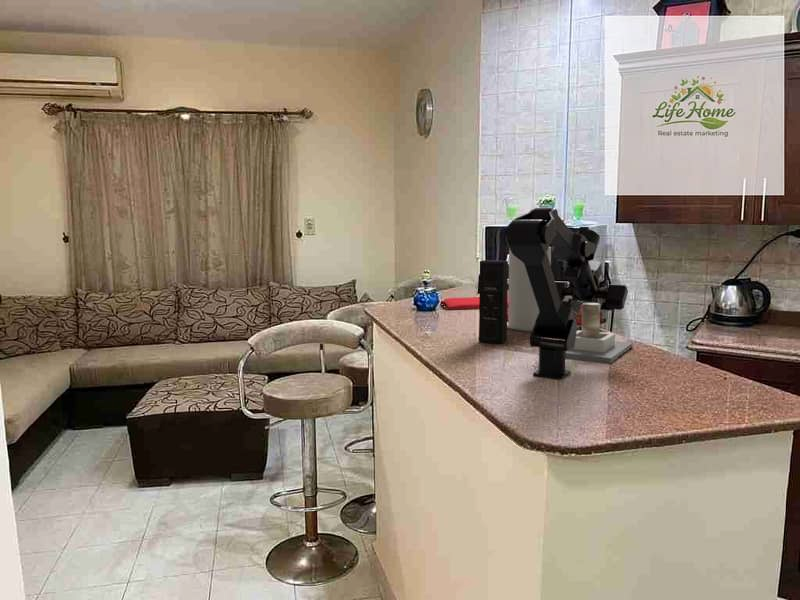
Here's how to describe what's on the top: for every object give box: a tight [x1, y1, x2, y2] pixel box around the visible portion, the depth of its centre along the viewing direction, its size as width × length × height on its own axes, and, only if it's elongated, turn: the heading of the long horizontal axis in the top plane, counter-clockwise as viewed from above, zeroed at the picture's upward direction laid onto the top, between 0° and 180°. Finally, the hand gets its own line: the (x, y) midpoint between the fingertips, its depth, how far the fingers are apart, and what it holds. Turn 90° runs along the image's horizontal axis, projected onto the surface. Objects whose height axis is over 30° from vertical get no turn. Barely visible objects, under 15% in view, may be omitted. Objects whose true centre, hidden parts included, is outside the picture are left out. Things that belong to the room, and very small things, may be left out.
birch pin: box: [581, 302, 601, 339], centre depth 155 cm, size 4×4×11 cm
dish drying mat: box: [440, 295, 509, 311], centre depth 236 cm, size 16×41×4 cm, turn 97°
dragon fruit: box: [574, 304, 607, 327], centre depth 186 cm, size 8×8×12 cm
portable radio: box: [477, 251, 509, 345], centre depth 168 cm, size 8×6×25 cm
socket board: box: [566, 329, 634, 364], centre depth 156 cm, size 20×16×4 cm
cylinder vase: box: [507, 246, 552, 332], centre depth 187 cm, size 12×12×25 cm
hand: (592, 314), depth 156 cm, fingers open, 6 cm apart
